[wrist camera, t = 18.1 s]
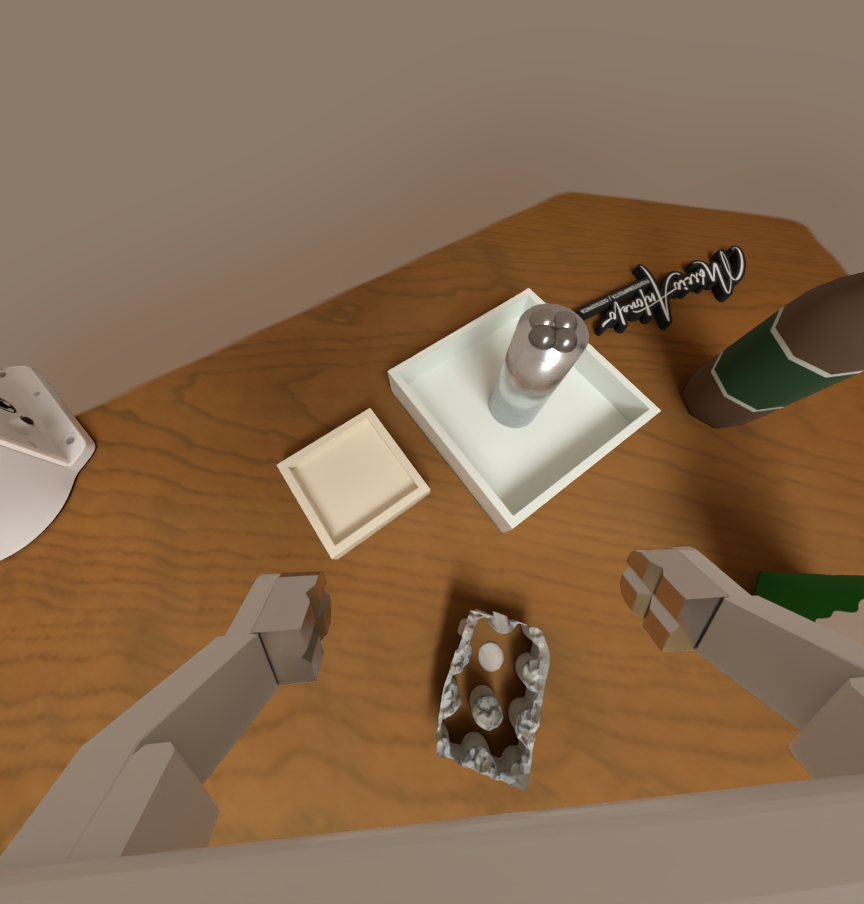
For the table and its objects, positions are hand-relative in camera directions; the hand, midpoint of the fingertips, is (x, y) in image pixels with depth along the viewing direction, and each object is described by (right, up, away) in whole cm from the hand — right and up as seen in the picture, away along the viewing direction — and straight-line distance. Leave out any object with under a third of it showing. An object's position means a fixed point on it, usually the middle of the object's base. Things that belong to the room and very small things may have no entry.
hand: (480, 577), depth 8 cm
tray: (-9, 0, +25) cm, 26 cm away
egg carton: (+4, -16, +19) cm, 26 cm away
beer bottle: (+32, +9, +29) cm, 44 cm away
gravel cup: (+8, +9, +27) cm, 29 cm away
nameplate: (+30, +25, +35) cm, 53 cm away
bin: (+8, +8, +28) cm, 30 cm away
